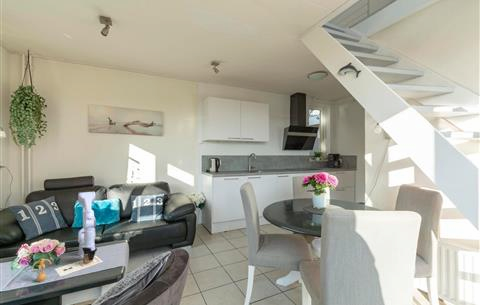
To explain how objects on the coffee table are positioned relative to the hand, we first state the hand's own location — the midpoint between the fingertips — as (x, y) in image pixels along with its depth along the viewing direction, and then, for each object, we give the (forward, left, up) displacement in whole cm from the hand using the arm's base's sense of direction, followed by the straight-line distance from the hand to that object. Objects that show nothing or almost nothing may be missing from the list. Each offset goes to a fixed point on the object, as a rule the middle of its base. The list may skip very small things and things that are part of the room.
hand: (89, 258), depth 138 cm
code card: (0, -5, -3) cm, 6 cm away
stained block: (0, 0, -2) cm, 2 cm away
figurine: (+2, -23, -3) cm, 24 cm away
